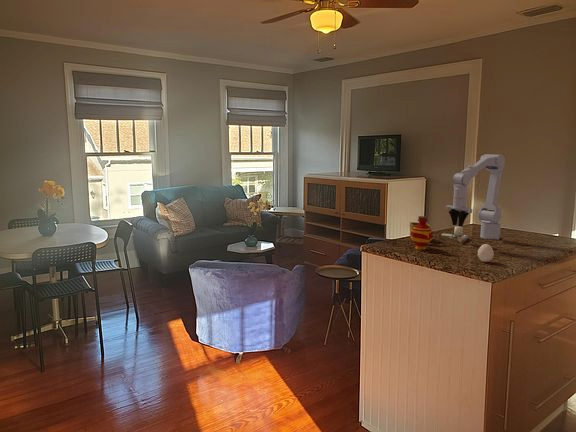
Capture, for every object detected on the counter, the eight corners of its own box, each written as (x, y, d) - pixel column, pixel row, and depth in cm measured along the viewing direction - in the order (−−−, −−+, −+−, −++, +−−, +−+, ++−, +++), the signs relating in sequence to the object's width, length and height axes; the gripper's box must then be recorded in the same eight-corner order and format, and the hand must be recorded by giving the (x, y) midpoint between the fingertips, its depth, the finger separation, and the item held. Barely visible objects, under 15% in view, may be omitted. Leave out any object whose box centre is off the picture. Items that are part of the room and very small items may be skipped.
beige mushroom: (464, 237, 234) (465, 226, 233) (463, 239, 229) (464, 228, 228) (452, 235, 237) (453, 225, 236) (451, 237, 231) (452, 227, 230)
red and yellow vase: (432, 246, 215) (434, 215, 212) (431, 251, 205) (433, 219, 203) (409, 244, 218) (411, 214, 216) (408, 249, 209) (410, 217, 206)
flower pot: (425, 239, 230) (427, 222, 229) (429, 243, 222) (430, 225, 220) (408, 239, 231) (409, 222, 230) (411, 242, 223) (412, 225, 221)
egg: (474, 261, 190) (475, 243, 188) (483, 259, 193) (484, 242, 192) (486, 264, 184) (488, 246, 183) (495, 262, 188) (497, 244, 186)
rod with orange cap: (463, 236, 229) (464, 233, 229) (468, 236, 228) (468, 233, 228) (456, 240, 218) (457, 237, 218) (461, 241, 217) (461, 238, 217)
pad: (452, 234, 240) (452, 234, 240) (451, 236, 235) (451, 236, 235) (442, 233, 242) (442, 233, 242) (441, 235, 238) (441, 235, 237)
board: (470, 238, 236) (471, 234, 236) (465, 245, 219) (466, 241, 219) (443, 235, 243) (443, 231, 243) (436, 242, 225) (436, 237, 225)
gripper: (442, 196, 222) (440, 223, 224) (465, 200, 209) (463, 228, 211) (452, 196, 225) (450, 222, 227) (476, 199, 212) (474, 227, 215)
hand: (457, 225), depth 220 cm, fingers open, 3 cm apart
